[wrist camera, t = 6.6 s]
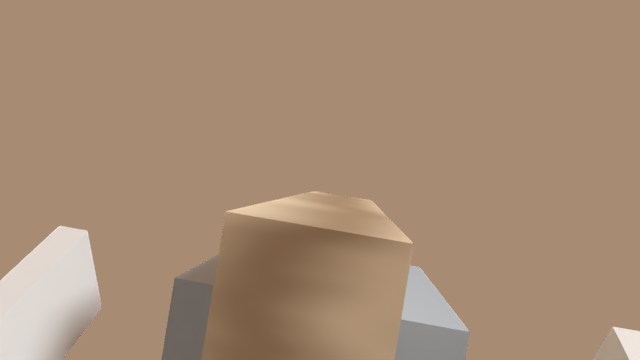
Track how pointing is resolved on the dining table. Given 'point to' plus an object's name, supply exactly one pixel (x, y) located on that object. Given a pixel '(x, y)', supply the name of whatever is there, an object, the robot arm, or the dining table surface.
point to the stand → (414, 334)
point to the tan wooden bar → (308, 281)
